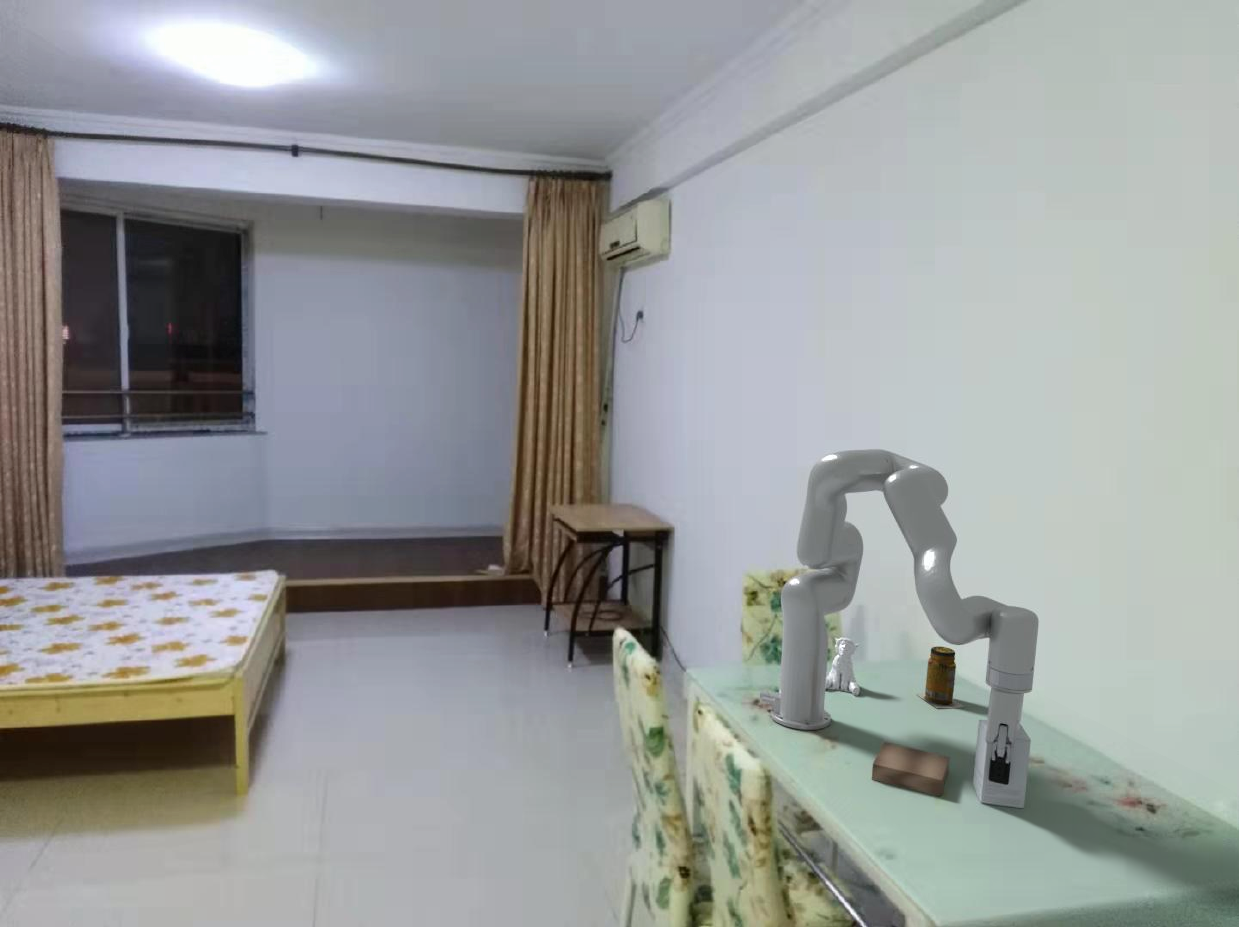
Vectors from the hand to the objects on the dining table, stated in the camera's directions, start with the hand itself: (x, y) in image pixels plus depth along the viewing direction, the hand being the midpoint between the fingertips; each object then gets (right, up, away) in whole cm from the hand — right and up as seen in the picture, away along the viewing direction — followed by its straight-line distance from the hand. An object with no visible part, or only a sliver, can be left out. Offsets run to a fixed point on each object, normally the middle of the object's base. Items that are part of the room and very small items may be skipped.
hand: (1000, 771), depth 156 cm
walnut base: (-14, -3, +7) cm, 16 cm away
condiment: (+6, 0, +45) cm, 46 cm away
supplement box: (0, -5, +1) cm, 5 cm away
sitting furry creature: (-16, +2, +52) cm, 54 cm away
